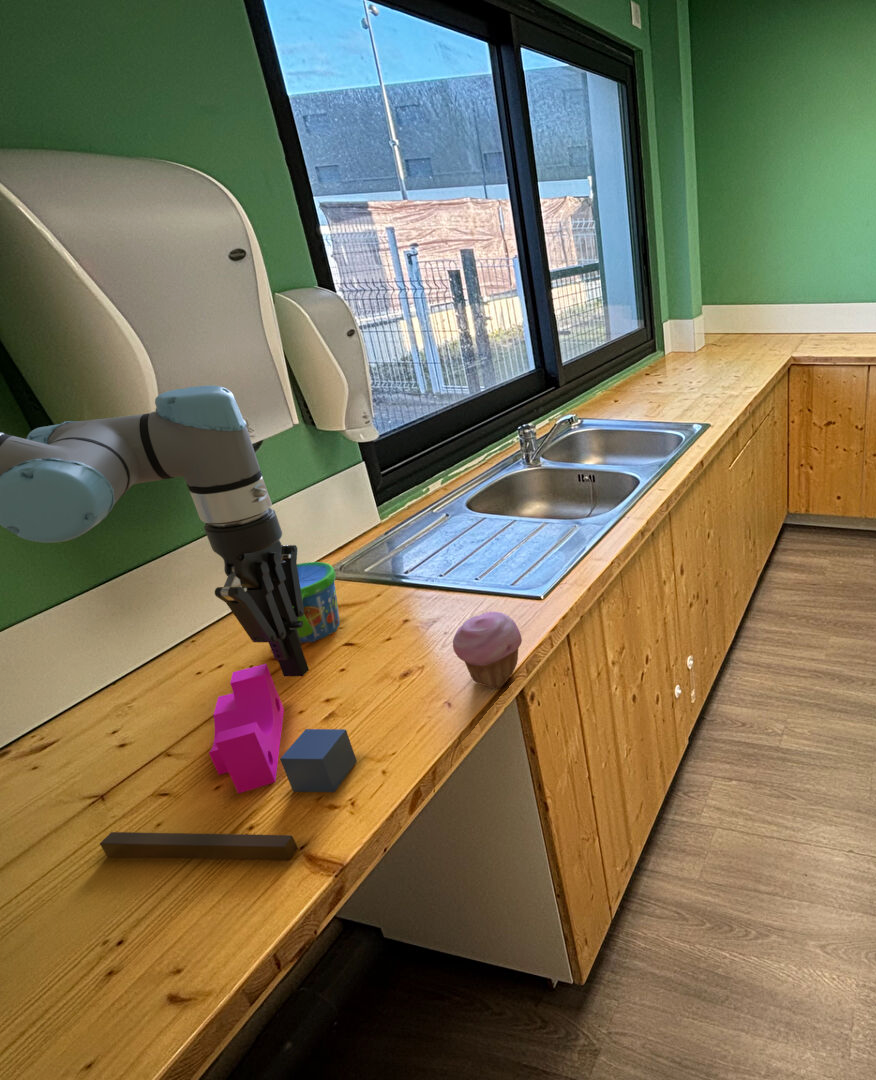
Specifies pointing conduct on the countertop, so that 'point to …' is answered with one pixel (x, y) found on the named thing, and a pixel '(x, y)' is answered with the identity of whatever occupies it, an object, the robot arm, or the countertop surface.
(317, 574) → the snack cup
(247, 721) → the toy block
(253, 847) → the straightedge
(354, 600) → the countertop surface
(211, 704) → the countertop surface
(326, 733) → the cube
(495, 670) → the cupcake
